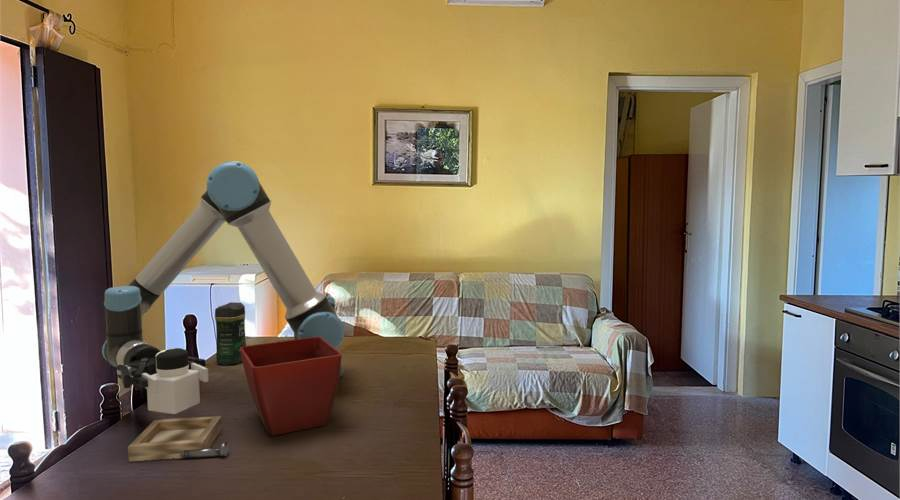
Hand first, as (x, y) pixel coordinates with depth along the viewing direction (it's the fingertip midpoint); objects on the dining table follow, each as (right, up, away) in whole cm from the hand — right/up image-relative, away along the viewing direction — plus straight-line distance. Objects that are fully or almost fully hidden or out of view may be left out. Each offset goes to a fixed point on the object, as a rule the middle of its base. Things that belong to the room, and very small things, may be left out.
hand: (182, 380), depth 117 cm
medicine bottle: (-3, -6, +4) cm, 8 cm away
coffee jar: (-15, -9, +66) cm, 68 cm away
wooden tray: (-3, -14, +4) cm, 15 cm away
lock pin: (+5, -15, -2) cm, 16 cm away
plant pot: (+18, -13, +16) cm, 27 cm away
